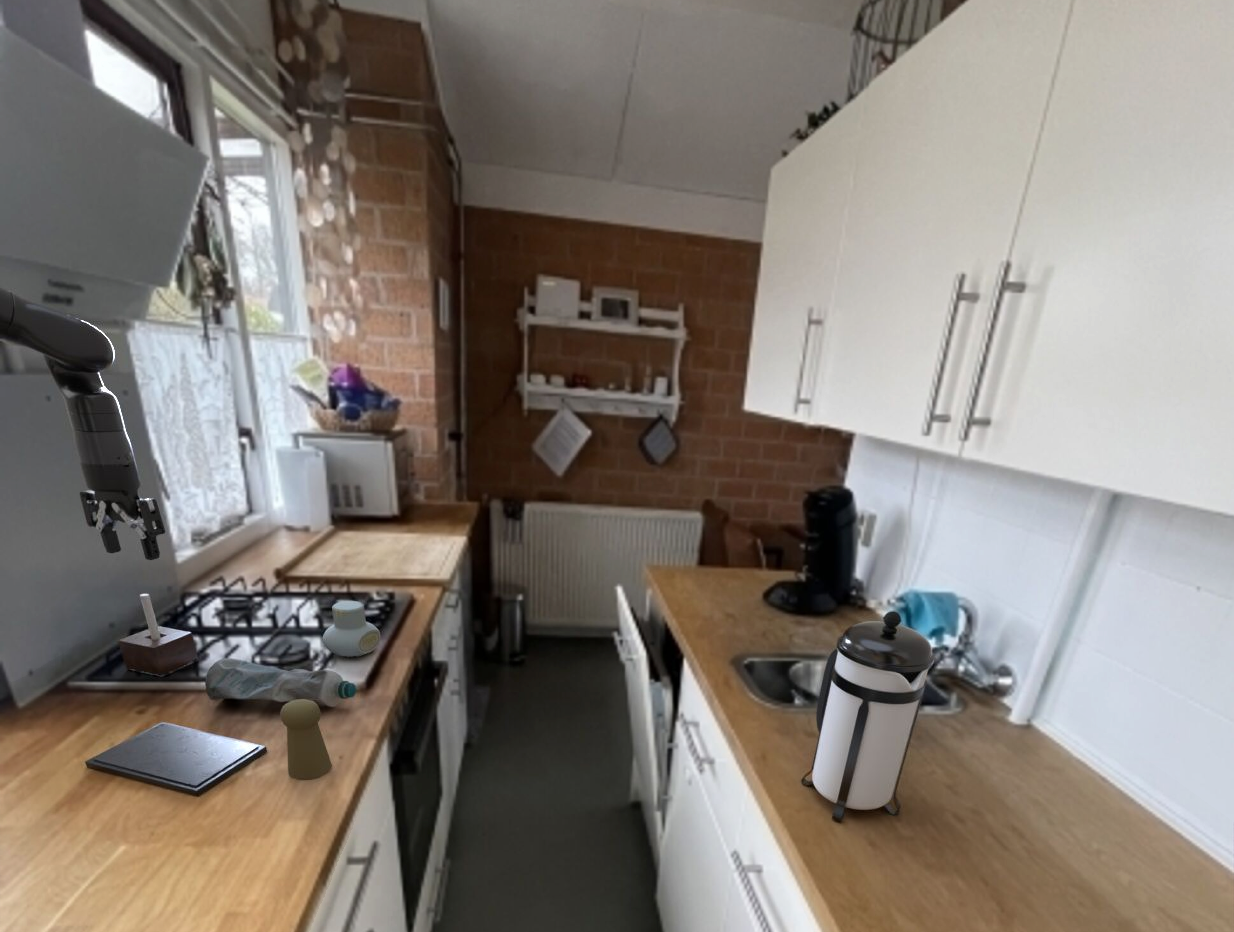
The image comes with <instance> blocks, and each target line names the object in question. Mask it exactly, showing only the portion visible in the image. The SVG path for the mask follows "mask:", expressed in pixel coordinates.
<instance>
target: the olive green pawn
mask: <svg viewBox="0 0 1234 932" xmlns="http://www.w3.org/2000/svg"><path fill="white" fill-rule="evenodd" d="M279 715H280V716H279V717H280V720H281V722H282V724H283V725H284V726H285V727H286V748H287V749H286V750H287V773H288V776H289V777H291V778H293V779H295V780H302V781H304V780H305V781H306V780H307V781H308V780H313V779H317V778H320V777H323V776H324V775H326V774H327V773H329V772H330V771H331V770H332V767H333V764H332V761H331V758H330V755H329V752H328V749H327V745H326V743H325V740H324V737H323V734H322V731H321V728H320V725H319V722H320V719H321V710H320V707H319V705H318V704H317V703H316V702H315V701H314V700H307V699H298V700H293V701H290V702H286V703H285V704H284V705H282V707H281V709H280V714H279Z"/></svg>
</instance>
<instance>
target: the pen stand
mask: <svg viewBox="0 0 1234 932" xmlns="http://www.w3.org/2000/svg"><path fill="white" fill-rule="evenodd" d="M157 626H158V630H159V634H160V637H161V638H159V639H156V640H153V639H152V638H151V635H150V631H149V628H148V629H144V630H143V631H140V632H136V633H135V634H132V635H129V636H126V637H124V638H121V639H118V640H117V642H118V645H119V649H120V652H121V655H122V659H123V662H124V665H125V669H126V670H127V669H135V670H136V669H137V670H140V671H144V672H149V673H152V674H158V675H162V674H164V673H166V672H169V671H173V670H175V669H178V668H180V667H183V666H184V665H187V664H188V663H189V662H191V661H192V660H195V659H198V660H199V657H198V656H199V655H198V653H197V648H196V647H197V646H196V643H195V640H194V639H195V638H194V636H193V633H192V632H191V631H186V630H182V629H176V628H170V627H165V626H161V625H157Z"/></svg>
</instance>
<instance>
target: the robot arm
mask: <svg viewBox="0 0 1234 932" xmlns="http://www.w3.org/2000/svg"><path fill="white" fill-rule="evenodd" d="M0 341H1V342H3V343H6V344H10V345H13V346H16V347H17V346H18V347H22V348H27V349H30V350H33V351H35V352H36V353H37V352H38V353H39V354H42V358H43V360H44V362H45V365H46V367H47V369H48V371H49V373H50V375H51V377H52V379H53V381H54V384H55V385H56V387H57V389H58V391H59V393H60V394H61V396H62V398H63V400H64V405H65V408H66V411H67V415H68V419H69V423H70V427H71V429H72V434H73V440H74V441H73V442H74V447H75V450H76V454H77V457H78V460H79V464H80V467H81V471H82V475H83V478H84V481H85V485H86V487H87V489H89V490H82V491H79V497H80V501H81V505H82V506H81V507H82V509H83V513H84V517H85V521H86V524H87V526H88V527H90V528H92V527H94V528H95V529H96V531H97V532H99V533H100V537H101V540H102V543H103V547H104V548H105V551H106V553H108V554H117V553H119V552H121V550H122V547H121V544H120V540H119V537H118V533H117V529H115V527H116V525H117V522H118V521H119V522H121V523H125V524H127V526H128V527H129V528H130V529H133V530H134V531H135V532H136V533H137V534H138V536H139V537H140V545H141V547H142V551H143V554H144V558H145V560H148V561H154V560H158V559H159V558H160V556H161V555H160V554H161V552H160V548H159V545H158V540H157V537H158V536H160V535H165V533H166V528H165V525H164V521H163V519H162V515H161V512H160V509H159V508H160V507H159V505H158V502H157V500H156V498H154V497H150V498H141V496H140V494H139V491H138V490H139V489H140V488H141V486H142V482H141V477H140V473H139V470H138V466H137V462H136V458H135V454H134V450H133V446H132V443H131V440H130V438H129V436H128V432H127V430H126V426H125V425H126V424H125V422H124V419H123V418H124V417H123V415H122V414H123V413H122V411H121V407H120V404H119V401H118V399H117V397H116V396H115V395H114V393H112V392H111V391H110V390H108V389H107V388H106V386H105V384H104V382H103V380H102V378H101V375H100V373H102V372H105V371H107V370H108V369H110V368H111V366H112V365H113V363H114V361H115V349H114V346H113V344H112V342H111V341H110V339H109V338H108V337H107V336H106V334H105V333H104V332H103V331H102V330H100V329H98V328H97V327H96V326H94V325H92V324H90V323H89V322H87V321H84V320H82V319H80V318H77V317H75V316H72V315H69V314H67V313H65V312H62V311H60V310H56V309H54V308H51V307H49V306H45V305H43V304H39V303H38V302H34V301H32V300H30V299H27V298H26V297H23V296H21V295H19V294H18V293H16V292H14V291H12V290H10V289H7V288H5V287H3V286H1V285H0ZM94 513H95V516H96V517H95V518H94ZM139 518H140V519H139ZM153 522H154V524H155V527H154V524H153ZM143 527H144V528H145V529H144V528H143Z"/></svg>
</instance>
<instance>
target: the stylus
mask: <svg viewBox="0 0 1234 932" xmlns="http://www.w3.org/2000/svg"><path fill="white" fill-rule="evenodd" d="M139 598H140V602H141V606H142V609H143V613H144V616H145V620H146V623H147V627H148V629H149V631H150V635H151V638H152V639H153V640H156V639H159V638H161V637H160V634H159V630H158V626H159V625H158V622H157V619H156V615H155V611H154V608H153V605H152V600H151V597H150V593H141V594H139Z"/></svg>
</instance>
